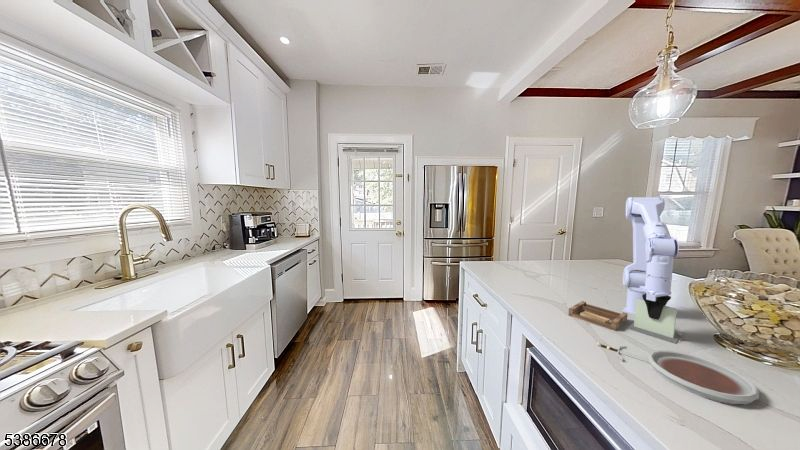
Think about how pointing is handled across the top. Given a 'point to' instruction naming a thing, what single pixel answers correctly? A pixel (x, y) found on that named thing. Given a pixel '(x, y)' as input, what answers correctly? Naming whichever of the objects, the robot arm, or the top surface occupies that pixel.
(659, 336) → the mat
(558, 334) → the top surface
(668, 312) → the board
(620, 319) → the rack
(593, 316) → the offcut top
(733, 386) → the frying pan
